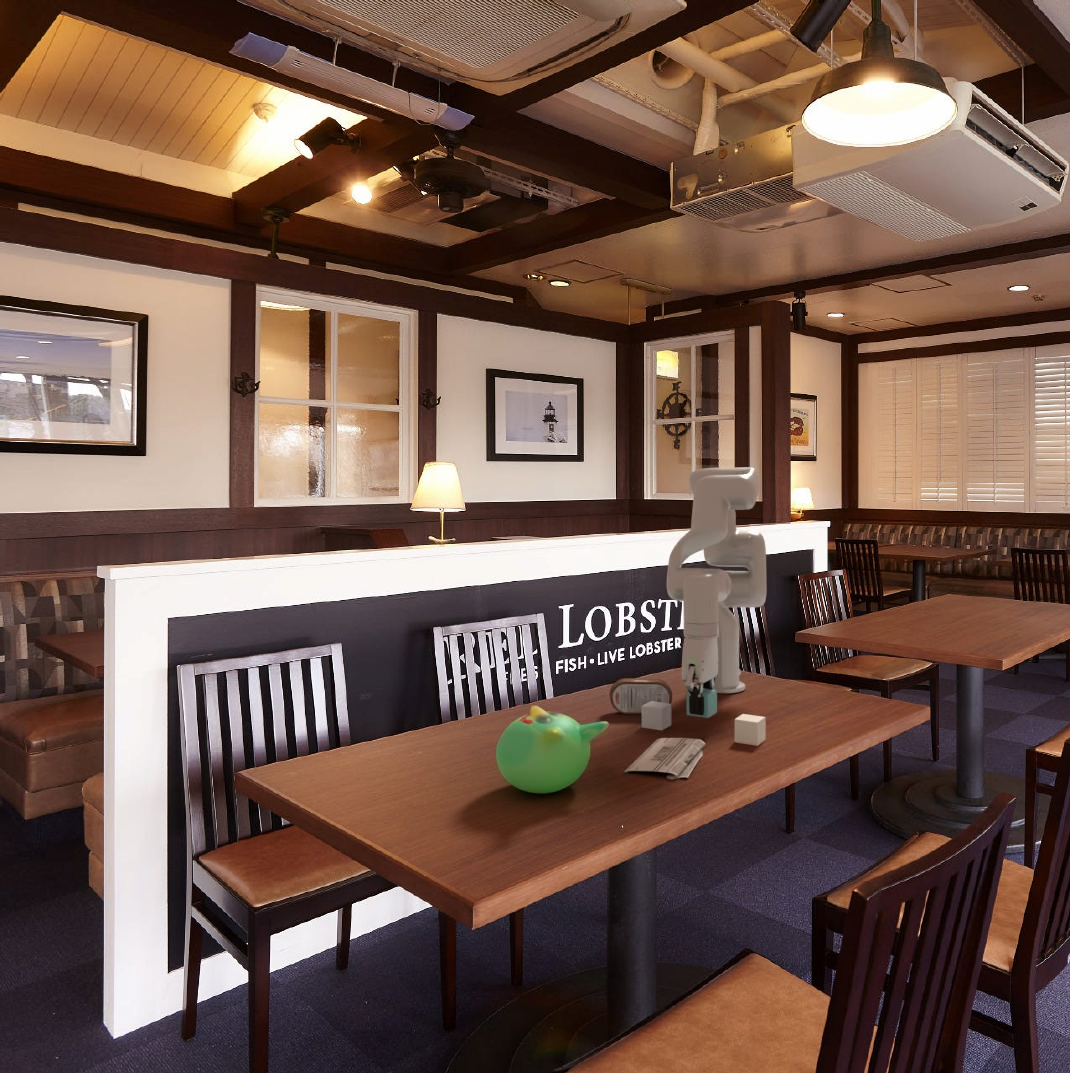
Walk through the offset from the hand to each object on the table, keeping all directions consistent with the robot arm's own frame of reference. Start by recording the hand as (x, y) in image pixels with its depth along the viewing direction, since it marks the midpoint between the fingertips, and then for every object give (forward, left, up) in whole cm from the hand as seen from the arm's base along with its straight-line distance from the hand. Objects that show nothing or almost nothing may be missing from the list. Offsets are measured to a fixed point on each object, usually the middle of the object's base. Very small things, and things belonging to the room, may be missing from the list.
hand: (701, 710), depth 187 cm
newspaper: (+20, +2, -6) cm, 21 cm away
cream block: (0, +11, -5) cm, 12 cm away
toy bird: (+47, -10, -5) cm, 49 cm away
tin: (-8, -19, -5) cm, 21 cm away
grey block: (0, -11, -5) cm, 12 cm away
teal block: (0, 0, -1) cm, 1 cm away
